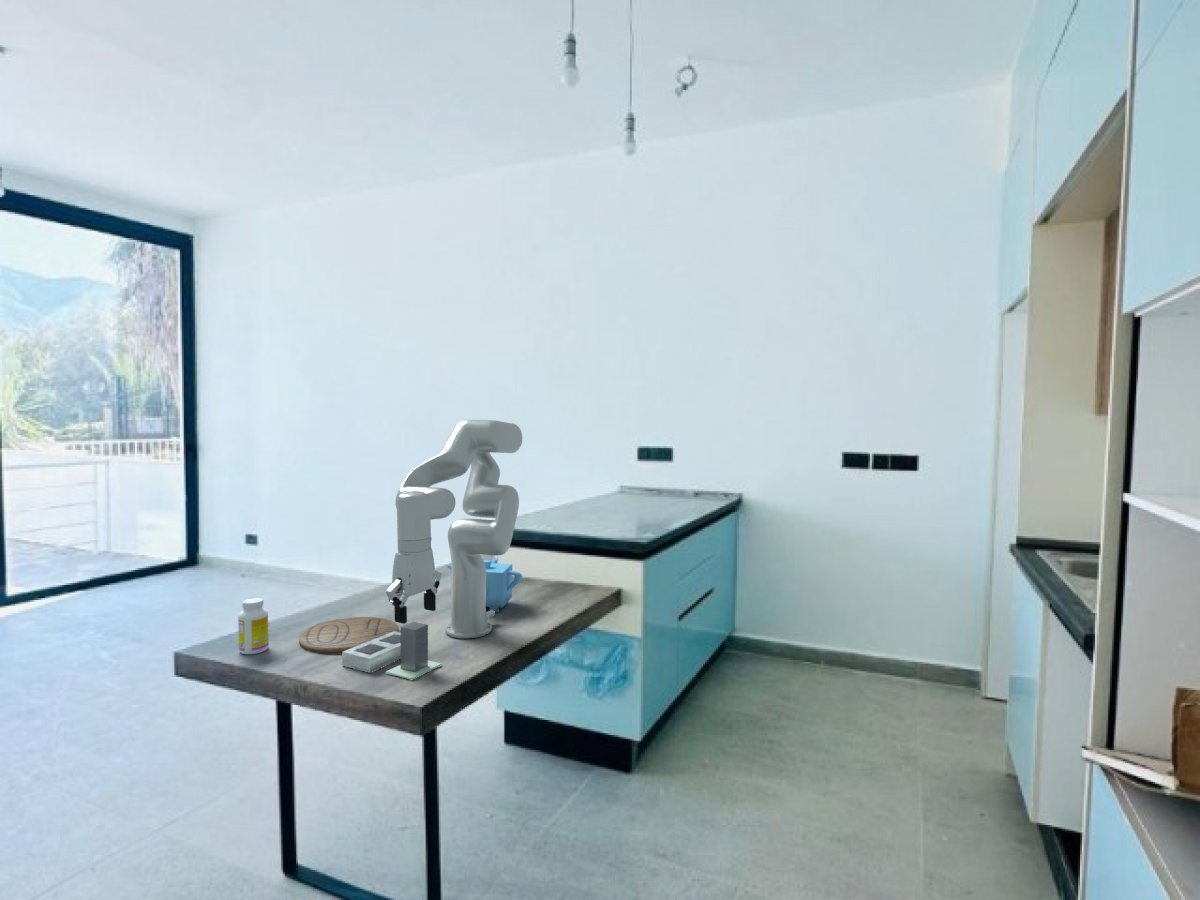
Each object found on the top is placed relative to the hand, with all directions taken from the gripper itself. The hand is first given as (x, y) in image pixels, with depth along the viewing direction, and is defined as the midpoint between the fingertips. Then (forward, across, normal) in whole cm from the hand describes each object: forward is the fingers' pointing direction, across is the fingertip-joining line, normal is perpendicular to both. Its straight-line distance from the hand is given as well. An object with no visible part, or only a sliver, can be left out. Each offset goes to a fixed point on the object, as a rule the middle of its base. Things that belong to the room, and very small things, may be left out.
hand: (415, 616), depth 153 cm
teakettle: (+15, -48, -17) cm, 53 cm away
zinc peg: (+12, +1, 0) cm, 12 cm away
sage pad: (+13, +1, 0) cm, 13 cm away
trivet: (+14, -8, -31) cm, 35 cm away
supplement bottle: (+13, +11, -44) cm, 47 cm away
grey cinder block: (+13, -1, -12) cm, 17 cm away
